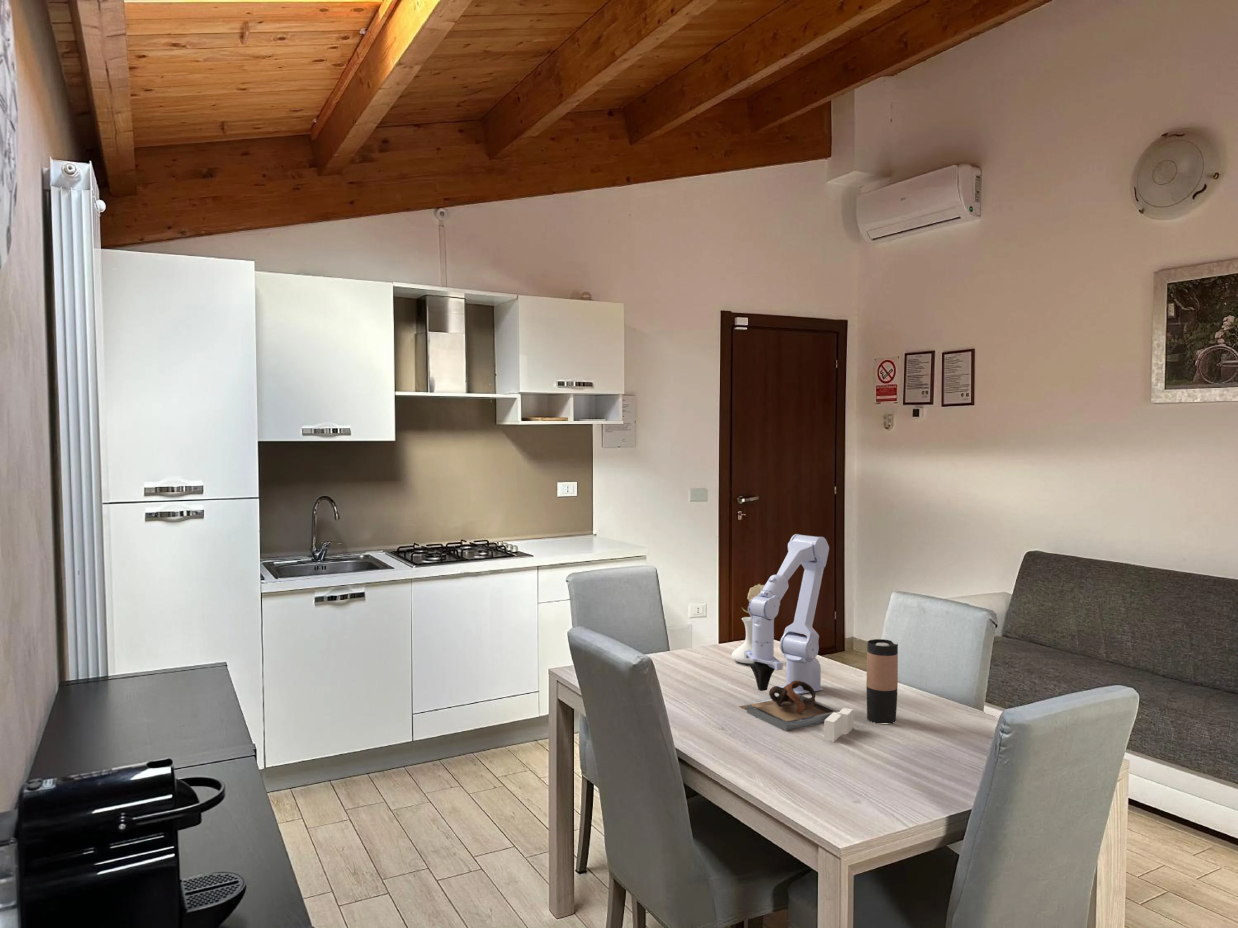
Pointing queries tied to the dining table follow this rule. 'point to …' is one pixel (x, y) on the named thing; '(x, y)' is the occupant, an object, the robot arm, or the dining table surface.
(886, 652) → the travel mug
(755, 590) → the flower in vase
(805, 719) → the curbs
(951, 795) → the dining table surface
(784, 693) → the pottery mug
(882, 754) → the dining table surface
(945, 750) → the dining table surface
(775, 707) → the brown flat board
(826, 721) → the white stepped block
